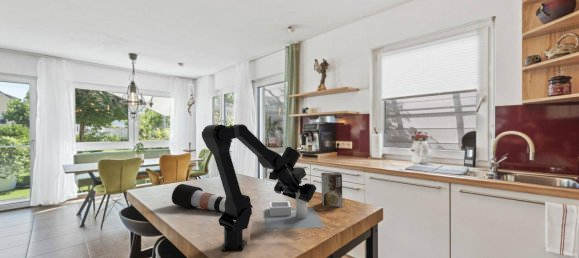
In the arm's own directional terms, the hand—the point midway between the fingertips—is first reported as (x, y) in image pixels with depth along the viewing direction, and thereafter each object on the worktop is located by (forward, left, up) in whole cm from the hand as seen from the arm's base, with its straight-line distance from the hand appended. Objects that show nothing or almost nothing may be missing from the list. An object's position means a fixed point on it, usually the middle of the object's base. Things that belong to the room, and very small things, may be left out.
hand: (303, 200), depth 106 cm
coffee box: (+15, -16, -8) cm, 23 cm away
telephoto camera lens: (+17, +42, -8) cm, 46 cm away
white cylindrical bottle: (-1, +1, -6) cm, 7 cm away
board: (-1, +5, -8) cm, 9 cm away
